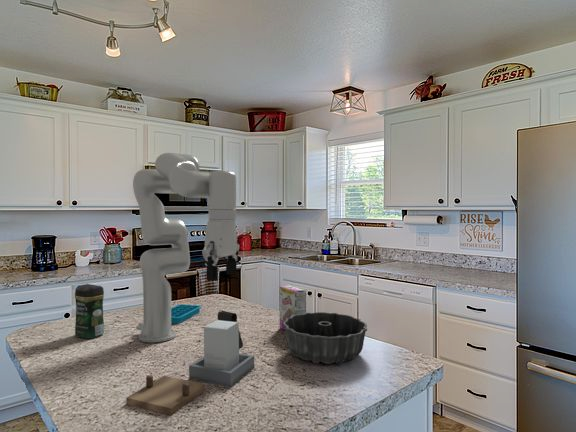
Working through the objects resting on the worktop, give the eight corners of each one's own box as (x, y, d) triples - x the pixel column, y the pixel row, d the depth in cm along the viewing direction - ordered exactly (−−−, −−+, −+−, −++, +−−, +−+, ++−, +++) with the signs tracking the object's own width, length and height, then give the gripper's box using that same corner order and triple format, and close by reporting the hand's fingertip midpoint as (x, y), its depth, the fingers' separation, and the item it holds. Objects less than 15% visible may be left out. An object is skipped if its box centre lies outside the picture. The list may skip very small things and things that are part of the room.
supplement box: (239, 366, 110) (239, 321, 110) (226, 376, 103) (226, 329, 103) (217, 362, 113) (217, 319, 112) (203, 372, 106) (202, 326, 105)
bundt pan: (383, 354, 122) (383, 322, 122) (332, 379, 103) (332, 342, 103) (319, 335, 141) (319, 307, 141) (266, 354, 122) (266, 322, 122)
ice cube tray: (202, 312, 173) (202, 305, 173) (179, 325, 154) (179, 317, 154) (179, 310, 176) (179, 304, 176) (153, 323, 156) (153, 315, 156)
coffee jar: (70, 336, 139) (70, 285, 138) (91, 330, 145) (90, 281, 145) (88, 341, 134) (87, 287, 134) (108, 334, 141) (107, 284, 141)
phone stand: (224, 354, 121) (224, 316, 121) (210, 350, 125) (210, 313, 125) (243, 346, 129) (243, 310, 128) (230, 342, 132) (230, 308, 132)
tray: (189, 378, 104) (189, 365, 104) (215, 361, 116) (215, 349, 116) (230, 386, 99) (230, 373, 99) (254, 367, 111) (254, 355, 111)
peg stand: (126, 403, 90) (126, 386, 90) (164, 381, 102) (164, 366, 102) (171, 415, 85) (171, 397, 85) (205, 390, 97) (205, 374, 97)
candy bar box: (278, 328, 148) (278, 286, 148) (289, 326, 151) (289, 284, 151) (295, 336, 139) (295, 291, 138) (306, 334, 142) (306, 289, 141)
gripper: (227, 215, 116) (226, 271, 117) (192, 216, 100) (191, 281, 101) (249, 215, 114) (248, 273, 114) (216, 216, 98) (216, 284, 98)
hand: (222, 277), depth 107 cm, fingers open, 9 cm apart
